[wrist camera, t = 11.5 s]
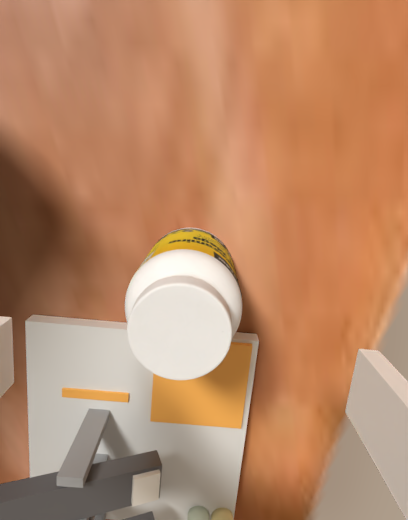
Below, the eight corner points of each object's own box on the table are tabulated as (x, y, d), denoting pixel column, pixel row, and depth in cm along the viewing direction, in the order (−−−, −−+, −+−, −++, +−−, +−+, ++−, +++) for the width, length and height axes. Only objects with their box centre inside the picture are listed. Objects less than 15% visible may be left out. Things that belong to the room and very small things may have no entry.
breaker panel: (37, 500, 32) (-13, 601, 25) (32, 314, 28) (-30, 368, 20) (231, 515, 32) (239, 618, 25) (256, 333, 28) (275, 393, 21)
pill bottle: (248, 252, 26) (278, 311, 16) (205, 321, 28) (205, 418, 17) (173, 209, 26) (151, 239, 15) (132, 281, 27) (85, 358, 16)
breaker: (-20, 528, 23) (-25, 556, 21) (-23, 486, 22) (-29, 511, 20) (154, 484, 27) (160, 504, 25) (157, 447, 26) (163, 466, 24)
